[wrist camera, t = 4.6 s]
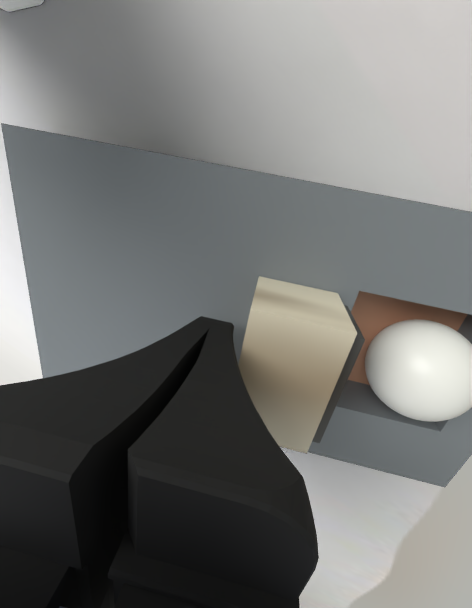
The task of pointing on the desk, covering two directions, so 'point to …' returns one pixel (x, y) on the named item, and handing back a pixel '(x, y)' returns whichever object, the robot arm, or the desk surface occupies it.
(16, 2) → the foam cup
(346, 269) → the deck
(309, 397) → the cream rectangular block
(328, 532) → the desk surface
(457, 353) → the ball
